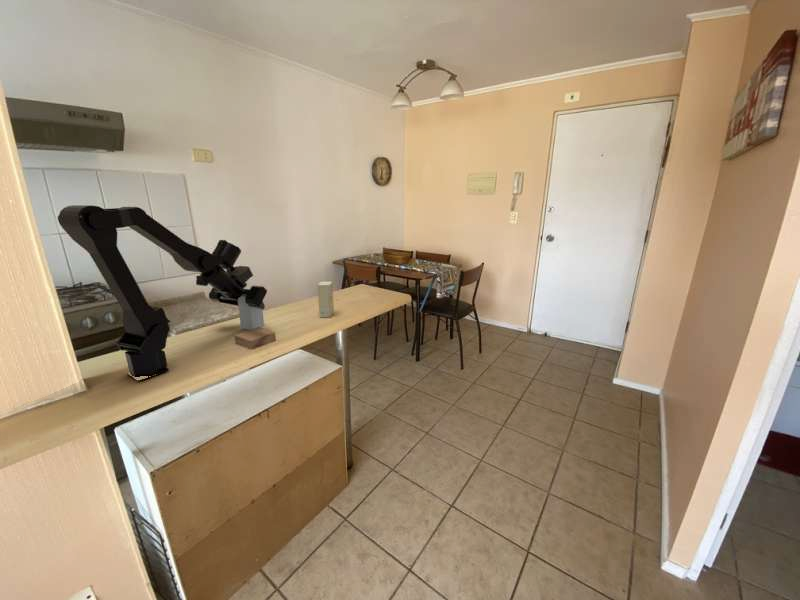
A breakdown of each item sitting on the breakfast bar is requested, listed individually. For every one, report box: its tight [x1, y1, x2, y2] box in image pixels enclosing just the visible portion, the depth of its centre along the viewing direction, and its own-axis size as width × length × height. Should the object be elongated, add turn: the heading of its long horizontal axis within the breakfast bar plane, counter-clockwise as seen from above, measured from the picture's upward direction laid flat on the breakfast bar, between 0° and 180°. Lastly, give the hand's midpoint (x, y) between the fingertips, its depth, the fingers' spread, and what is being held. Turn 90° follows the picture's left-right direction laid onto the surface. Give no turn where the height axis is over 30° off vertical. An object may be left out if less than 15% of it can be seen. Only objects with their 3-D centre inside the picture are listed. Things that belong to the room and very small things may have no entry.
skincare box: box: [316, 281, 335, 318], centre depth 122 cm, size 6×4×12 cm
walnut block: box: [233, 327, 277, 350], centre depth 98 cm, size 8×8×3 cm
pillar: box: [237, 296, 265, 331], centre depth 109 cm, size 5×5×12 cm
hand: (253, 306), depth 110 cm, fingers open, 8 cm apart
